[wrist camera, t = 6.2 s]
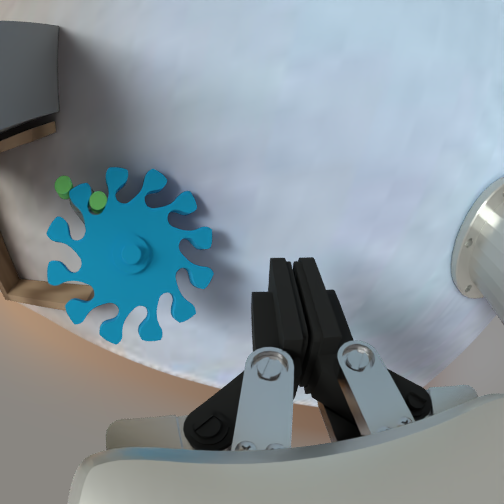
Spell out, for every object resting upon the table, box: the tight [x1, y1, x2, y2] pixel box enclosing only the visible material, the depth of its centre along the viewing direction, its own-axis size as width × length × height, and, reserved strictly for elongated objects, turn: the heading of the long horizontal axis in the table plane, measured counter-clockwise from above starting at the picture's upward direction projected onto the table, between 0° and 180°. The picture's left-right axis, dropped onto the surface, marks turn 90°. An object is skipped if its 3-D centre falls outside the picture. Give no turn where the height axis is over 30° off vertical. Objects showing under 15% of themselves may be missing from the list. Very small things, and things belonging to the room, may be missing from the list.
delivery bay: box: [0, 121, 94, 310], centre depth 16 cm, size 12×14×3 cm
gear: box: [47, 167, 214, 344], centre depth 16 cm, size 11×6×10 cm
